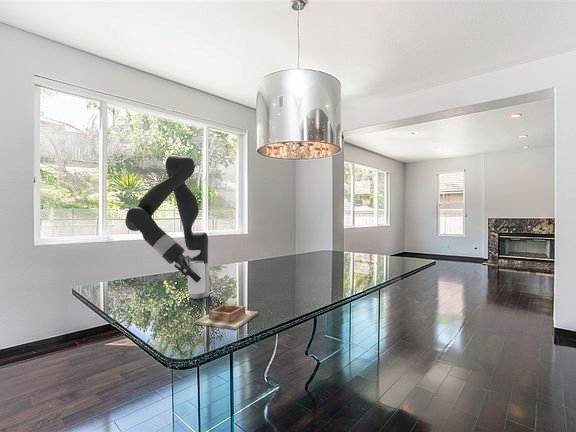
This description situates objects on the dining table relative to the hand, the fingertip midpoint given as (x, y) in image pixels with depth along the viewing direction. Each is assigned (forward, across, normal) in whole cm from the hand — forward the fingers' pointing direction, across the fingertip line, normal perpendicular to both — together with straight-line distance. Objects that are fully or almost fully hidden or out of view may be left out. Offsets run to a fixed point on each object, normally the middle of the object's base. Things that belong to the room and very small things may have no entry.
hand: (201, 278), depth 118 cm
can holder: (+19, +4, +6) cm, 20 cm away
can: (+3, 0, +5) cm, 6 cm away
